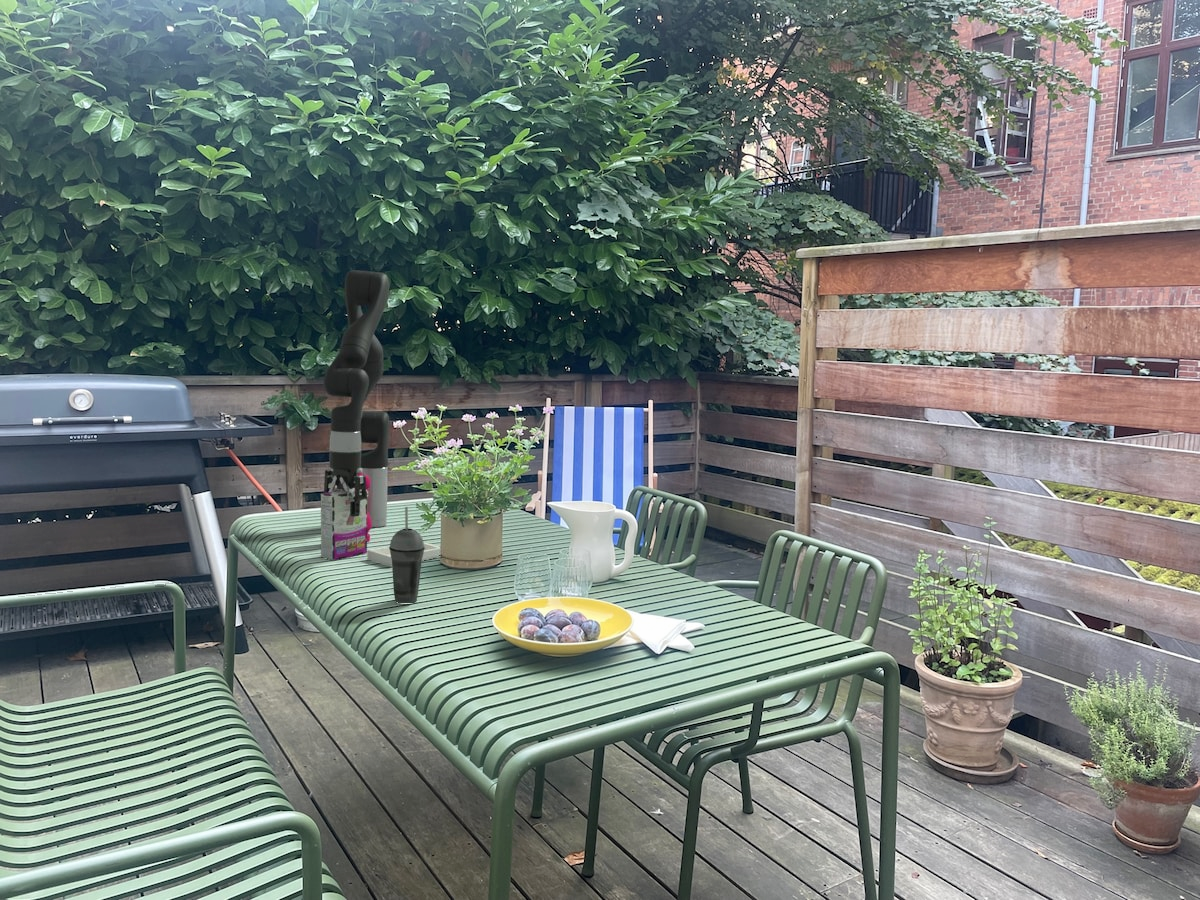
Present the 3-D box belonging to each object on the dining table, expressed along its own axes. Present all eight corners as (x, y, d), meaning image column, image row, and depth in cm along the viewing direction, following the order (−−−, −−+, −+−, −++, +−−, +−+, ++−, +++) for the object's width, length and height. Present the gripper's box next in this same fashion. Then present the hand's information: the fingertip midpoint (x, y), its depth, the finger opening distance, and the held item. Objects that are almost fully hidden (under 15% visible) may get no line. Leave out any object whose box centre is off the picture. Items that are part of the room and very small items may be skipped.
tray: (367, 559, 218) (367, 550, 218) (418, 549, 231) (418, 540, 230) (392, 567, 212) (392, 557, 212) (443, 557, 224) (444, 547, 224)
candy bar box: (353, 550, 227) (354, 487, 225) (367, 553, 225) (368, 489, 223) (319, 557, 218) (319, 492, 216) (333, 561, 215) (333, 495, 213)
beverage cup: (392, 608, 181) (395, 512, 178) (384, 598, 187) (386, 505, 185) (427, 604, 184) (430, 510, 182) (417, 595, 190) (420, 504, 188)
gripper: (375, 451, 216) (374, 516, 218) (341, 445, 225) (340, 507, 227) (349, 453, 211) (348, 520, 212) (315, 446, 220) (314, 511, 221)
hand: (344, 513), depth 220 cm, fingers open, 8 cm apart
